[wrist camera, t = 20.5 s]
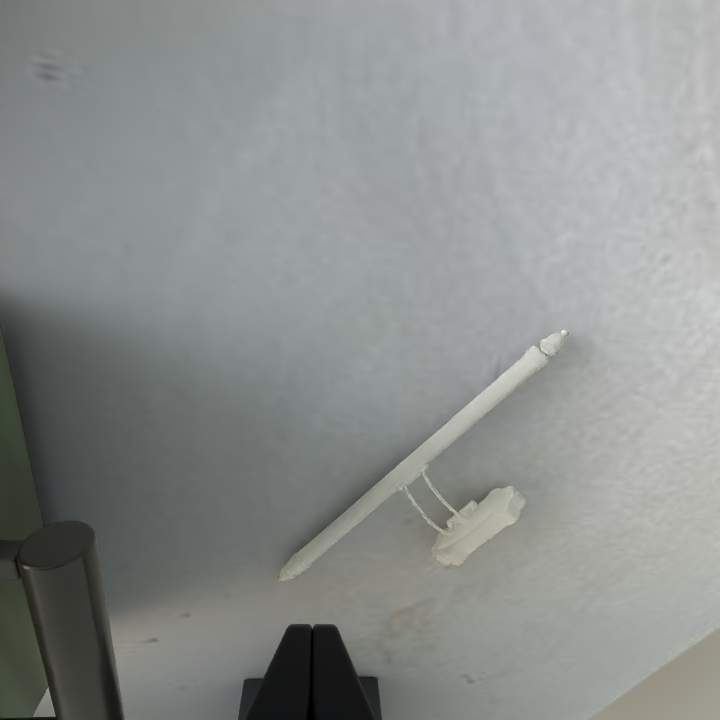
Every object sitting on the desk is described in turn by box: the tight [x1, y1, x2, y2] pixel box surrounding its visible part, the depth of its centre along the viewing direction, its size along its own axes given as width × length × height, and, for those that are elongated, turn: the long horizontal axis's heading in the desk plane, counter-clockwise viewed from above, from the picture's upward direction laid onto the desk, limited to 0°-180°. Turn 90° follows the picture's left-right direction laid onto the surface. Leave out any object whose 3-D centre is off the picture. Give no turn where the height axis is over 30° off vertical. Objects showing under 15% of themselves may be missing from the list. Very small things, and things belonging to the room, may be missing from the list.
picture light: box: [278, 330, 569, 582], centre depth 16 cm, size 14×4×2 cm, turn 135°
